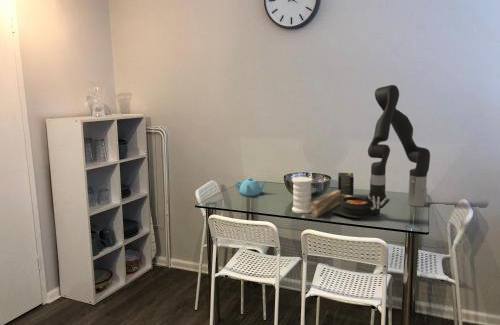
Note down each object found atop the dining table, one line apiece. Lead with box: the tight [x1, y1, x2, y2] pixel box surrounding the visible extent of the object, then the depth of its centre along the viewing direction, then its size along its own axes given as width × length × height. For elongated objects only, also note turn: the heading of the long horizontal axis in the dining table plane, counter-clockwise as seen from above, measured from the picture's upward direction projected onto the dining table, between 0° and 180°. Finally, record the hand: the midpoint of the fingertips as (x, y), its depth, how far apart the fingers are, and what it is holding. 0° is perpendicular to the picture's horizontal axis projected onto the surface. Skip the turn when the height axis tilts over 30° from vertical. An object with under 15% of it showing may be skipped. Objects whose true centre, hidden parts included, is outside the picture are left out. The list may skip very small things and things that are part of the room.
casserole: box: [331, 196, 381, 219], centre depth 221 cm, size 25×19×8 cm
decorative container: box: [291, 176, 313, 214], centre depth 231 cm, size 12×12×18 cm
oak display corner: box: [310, 189, 358, 219], centre depth 228 cm, size 18×32×8 cm, turn 143°
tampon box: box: [337, 172, 355, 196], centre depth 254 cm, size 11×9×15 cm
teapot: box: [234, 177, 267, 197], centre depth 268 cm, size 15×15×11 cm
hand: (376, 215), depth 215 cm, fingers closed
